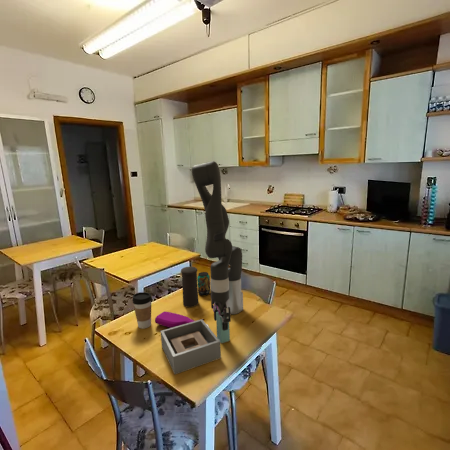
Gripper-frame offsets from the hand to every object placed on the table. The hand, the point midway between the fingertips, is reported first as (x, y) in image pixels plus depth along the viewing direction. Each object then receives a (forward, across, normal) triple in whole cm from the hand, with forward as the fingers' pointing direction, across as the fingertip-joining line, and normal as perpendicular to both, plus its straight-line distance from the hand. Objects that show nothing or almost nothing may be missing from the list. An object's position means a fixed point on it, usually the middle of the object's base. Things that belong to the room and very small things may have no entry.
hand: (220, 324), depth 116 cm
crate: (+7, -2, +14) cm, 16 cm away
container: (+7, +37, +1) cm, 37 cm away
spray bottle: (+7, +18, +12) cm, 22 cm away
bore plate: (+7, -2, +14) cm, 16 cm away
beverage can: (+7, +45, -10) cm, 46 cm away
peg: (+7, 0, -1) cm, 7 cm away
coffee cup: (+7, +27, +27) cm, 39 cm away
